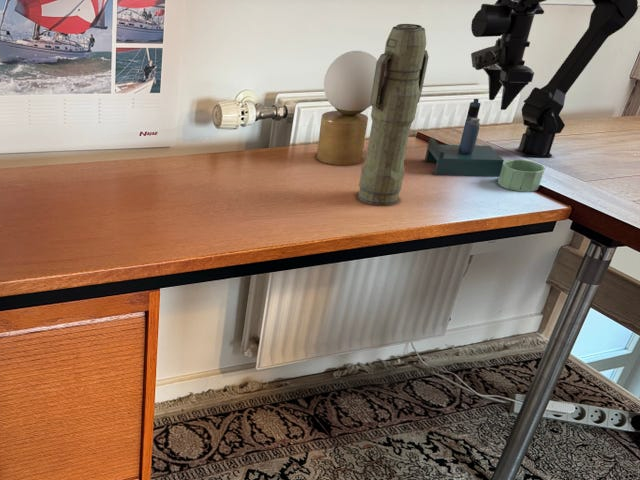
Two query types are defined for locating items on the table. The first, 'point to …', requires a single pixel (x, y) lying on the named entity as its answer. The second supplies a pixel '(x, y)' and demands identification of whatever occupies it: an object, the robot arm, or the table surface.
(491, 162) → the dark green stepped platform
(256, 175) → the table surface
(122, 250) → the table surface
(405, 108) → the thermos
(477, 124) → the vaping device
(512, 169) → the green bowl
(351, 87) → the lamp
